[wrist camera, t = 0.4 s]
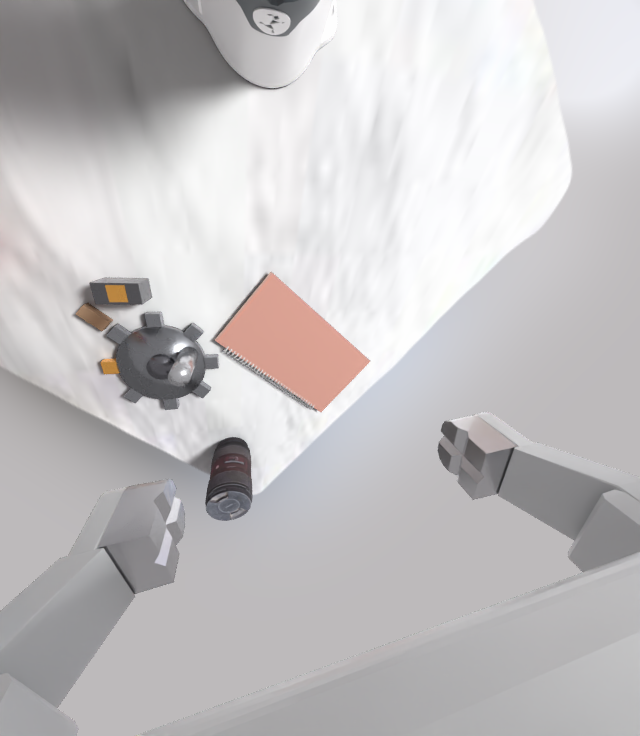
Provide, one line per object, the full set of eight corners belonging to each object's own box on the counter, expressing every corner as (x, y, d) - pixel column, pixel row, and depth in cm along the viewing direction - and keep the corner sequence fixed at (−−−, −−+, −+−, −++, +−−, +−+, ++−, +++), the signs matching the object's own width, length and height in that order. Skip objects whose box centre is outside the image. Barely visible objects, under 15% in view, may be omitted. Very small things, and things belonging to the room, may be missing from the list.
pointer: (80, 311, 44) (75, 314, 43) (88, 302, 44) (83, 304, 43) (105, 328, 46) (101, 331, 45) (113, 320, 46) (109, 322, 44)
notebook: (211, 341, 52) (210, 345, 50) (270, 270, 49) (271, 271, 47) (315, 411, 64) (317, 416, 62) (367, 357, 61) (371, 361, 59)
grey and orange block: (105, 277, 43) (89, 282, 39) (148, 278, 45) (137, 283, 40) (110, 297, 44) (95, 304, 40) (152, 297, 46) (142, 304, 41)
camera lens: (204, 448, 61) (194, 508, 48) (235, 428, 60) (232, 482, 47) (229, 468, 65) (225, 528, 51) (258, 449, 64) (261, 505, 51)
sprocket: (89, 312, 44) (50, 333, 35) (213, 311, 49) (206, 330, 40) (119, 409, 52) (93, 447, 43) (223, 401, 56) (218, 434, 47)
